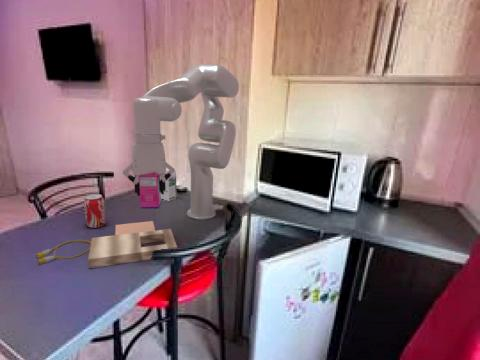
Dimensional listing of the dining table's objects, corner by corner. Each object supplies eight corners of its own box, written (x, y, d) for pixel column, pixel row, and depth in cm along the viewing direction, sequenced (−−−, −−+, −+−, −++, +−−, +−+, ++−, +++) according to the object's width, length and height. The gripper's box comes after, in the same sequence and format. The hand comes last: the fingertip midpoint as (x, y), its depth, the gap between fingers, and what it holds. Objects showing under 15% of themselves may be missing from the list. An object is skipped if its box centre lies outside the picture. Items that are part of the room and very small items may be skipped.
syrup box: (168, 201, 143) (168, 173, 139) (160, 199, 146) (159, 171, 142) (176, 198, 148) (176, 170, 144) (168, 196, 150) (167, 168, 146)
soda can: (98, 230, 111) (95, 200, 108) (82, 227, 112) (78, 198, 109) (110, 222, 118) (107, 194, 114) (94, 220, 119) (91, 192, 116)
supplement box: (143, 202, 99) (142, 169, 96) (161, 202, 100) (160, 170, 97) (139, 208, 94) (138, 174, 91) (158, 209, 95) (158, 174, 91)
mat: (152, 222, 120) (152, 221, 120) (156, 235, 109) (156, 234, 109) (115, 226, 115) (115, 224, 115) (115, 240, 104) (115, 238, 104)
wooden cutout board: (170, 236, 109) (170, 228, 108) (177, 255, 97) (177, 247, 96) (92, 245, 100) (92, 237, 99) (89, 268, 87) (88, 259, 87)
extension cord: (39, 248, 98) (39, 242, 97) (92, 240, 105) (92, 235, 104) (33, 267, 87) (32, 261, 87) (92, 257, 94) (92, 251, 94)
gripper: (174, 136, 97) (175, 188, 102) (117, 137, 91) (121, 192, 96) (178, 140, 91) (179, 195, 96) (117, 141, 84) (122, 200, 89)
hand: (150, 193), depth 96 cm, fingers closed on supplement box, 6 cm apart
